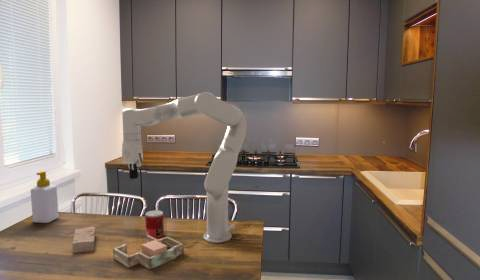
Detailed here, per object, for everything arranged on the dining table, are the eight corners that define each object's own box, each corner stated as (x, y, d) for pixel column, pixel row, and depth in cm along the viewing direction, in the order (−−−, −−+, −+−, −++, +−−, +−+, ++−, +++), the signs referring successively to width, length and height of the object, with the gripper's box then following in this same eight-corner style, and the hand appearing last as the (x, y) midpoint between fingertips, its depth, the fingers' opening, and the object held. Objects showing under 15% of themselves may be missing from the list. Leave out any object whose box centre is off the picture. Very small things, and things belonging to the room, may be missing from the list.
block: (155, 254, 145) (154, 240, 144) (167, 260, 139) (166, 245, 139) (142, 259, 140) (141, 244, 139) (154, 265, 135) (153, 250, 134)
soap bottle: (31, 222, 178) (27, 173, 174) (44, 216, 187) (40, 169, 183) (47, 223, 176) (44, 174, 173) (59, 217, 185) (56, 170, 182)
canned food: (159, 240, 157) (159, 216, 156) (142, 238, 159) (142, 215, 158) (166, 233, 165) (166, 210, 163) (150, 232, 166) (149, 209, 165)
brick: (94, 250, 148) (93, 240, 147) (72, 254, 145) (71, 242, 144) (95, 236, 163) (95, 226, 162) (75, 238, 160) (75, 228, 160)
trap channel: (157, 240, 157) (157, 232, 156) (185, 253, 145) (185, 244, 144) (112, 257, 141) (111, 248, 141) (139, 273, 129) (138, 263, 128)
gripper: (115, 136, 157) (117, 177, 160) (134, 139, 148) (135, 182, 150) (130, 134, 163) (132, 174, 165) (149, 137, 153) (150, 179, 156)
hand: (133, 178), depth 158 cm, fingers closed
